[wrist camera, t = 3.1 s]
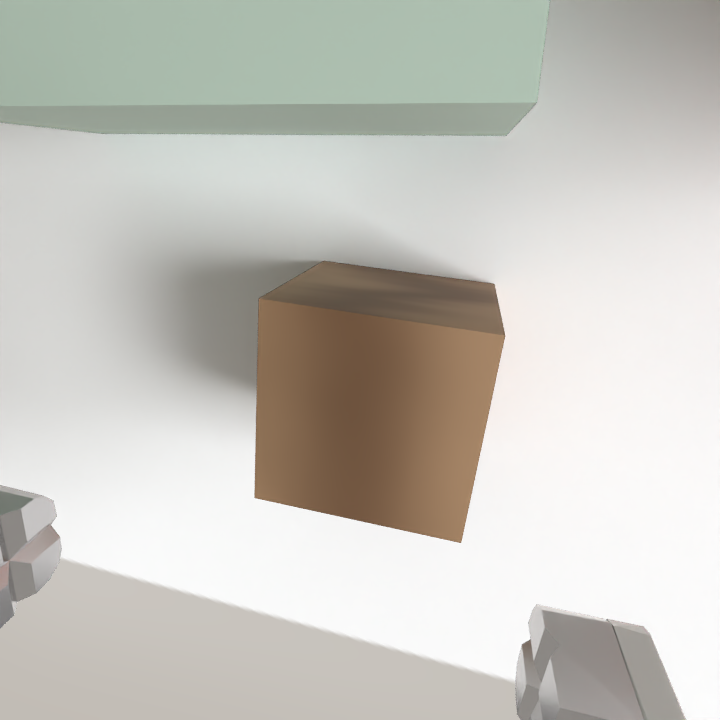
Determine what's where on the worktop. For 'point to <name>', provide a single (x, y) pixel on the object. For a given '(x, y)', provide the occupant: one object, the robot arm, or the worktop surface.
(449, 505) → the walnut block
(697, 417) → the worktop surface
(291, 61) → the sage box
